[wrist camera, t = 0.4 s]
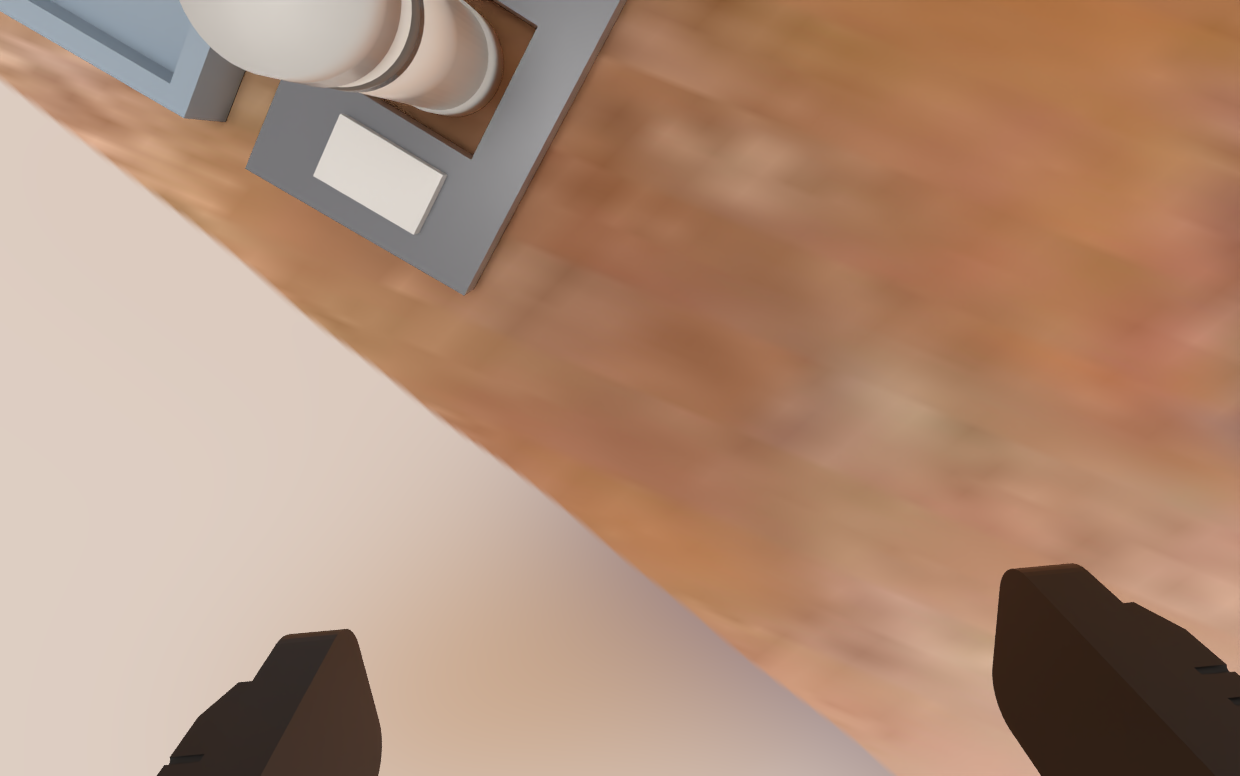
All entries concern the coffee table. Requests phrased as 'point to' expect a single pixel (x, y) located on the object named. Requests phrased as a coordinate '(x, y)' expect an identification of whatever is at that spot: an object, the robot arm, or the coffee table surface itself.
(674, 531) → the coffee table surface
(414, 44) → the fuse
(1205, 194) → the coffee table surface
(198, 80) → the parts tray
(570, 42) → the block
